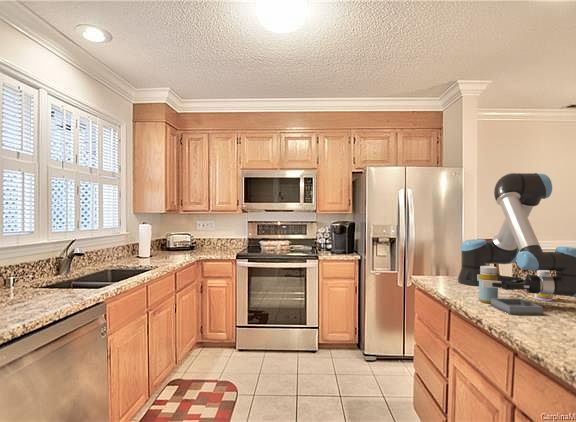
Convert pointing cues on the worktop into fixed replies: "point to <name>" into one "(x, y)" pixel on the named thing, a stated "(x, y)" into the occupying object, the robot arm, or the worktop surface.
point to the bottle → (486, 292)
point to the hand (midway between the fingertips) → (479, 280)
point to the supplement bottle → (543, 296)
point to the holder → (516, 306)
